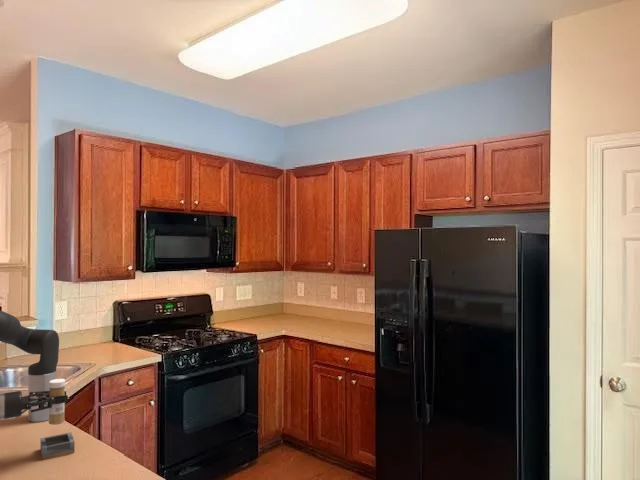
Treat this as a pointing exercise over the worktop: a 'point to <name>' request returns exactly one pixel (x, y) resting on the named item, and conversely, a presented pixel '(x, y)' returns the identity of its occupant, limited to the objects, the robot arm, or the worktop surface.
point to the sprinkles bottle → (57, 409)
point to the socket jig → (57, 445)
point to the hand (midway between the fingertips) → (66, 396)
